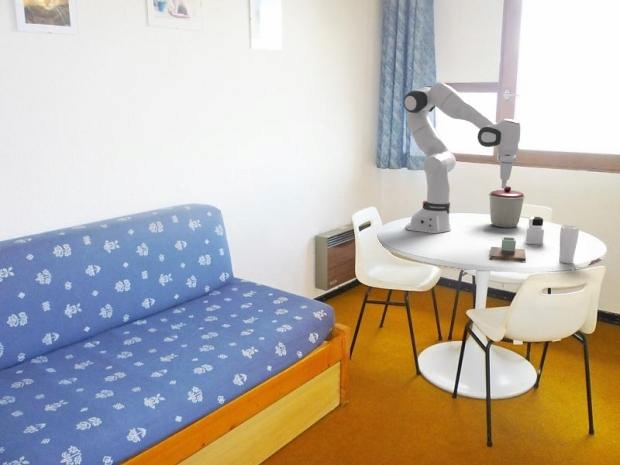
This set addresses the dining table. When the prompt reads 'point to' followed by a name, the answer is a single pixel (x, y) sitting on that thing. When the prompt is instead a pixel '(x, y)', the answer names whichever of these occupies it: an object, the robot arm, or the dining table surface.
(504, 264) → the dining table surface
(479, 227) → the dining table surface
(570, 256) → the drinking glass
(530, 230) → the medicine bottle
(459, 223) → the dining table surface
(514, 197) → the canister
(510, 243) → the sleeve
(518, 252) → the pin board
